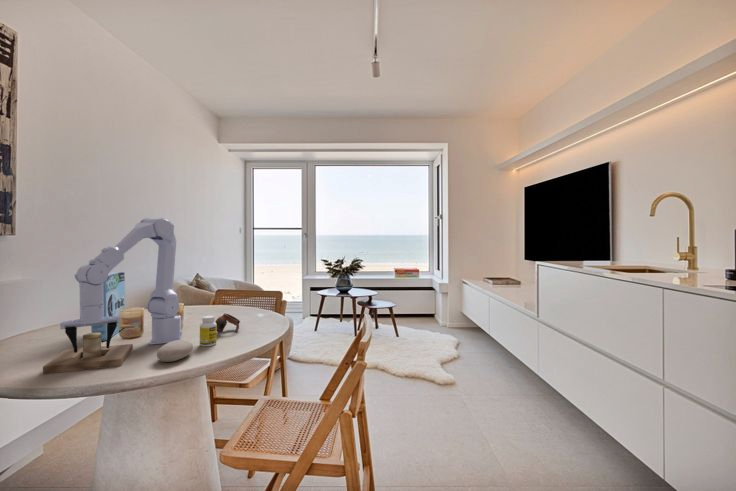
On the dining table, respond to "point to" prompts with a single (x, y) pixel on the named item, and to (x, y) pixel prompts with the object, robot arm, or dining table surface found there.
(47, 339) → the dining table surface
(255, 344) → the dining table surface
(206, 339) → the supplement bottle
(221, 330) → the brown arch
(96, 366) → the carrier board
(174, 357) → the decorative stone
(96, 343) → the beige wooden cylinder
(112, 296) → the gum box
